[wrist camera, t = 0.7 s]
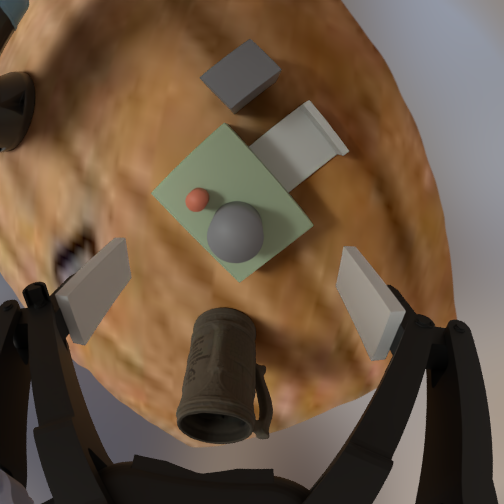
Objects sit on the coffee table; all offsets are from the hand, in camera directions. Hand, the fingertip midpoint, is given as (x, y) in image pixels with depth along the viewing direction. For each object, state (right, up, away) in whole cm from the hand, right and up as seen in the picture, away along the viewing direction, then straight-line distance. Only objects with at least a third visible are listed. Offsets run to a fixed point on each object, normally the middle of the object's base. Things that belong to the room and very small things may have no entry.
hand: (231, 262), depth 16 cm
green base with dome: (+2, +11, +19) cm, 22 cm away
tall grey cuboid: (0, +22, +14) cm, 26 cm away
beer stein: (-1, -14, +30) cm, 34 cm away
